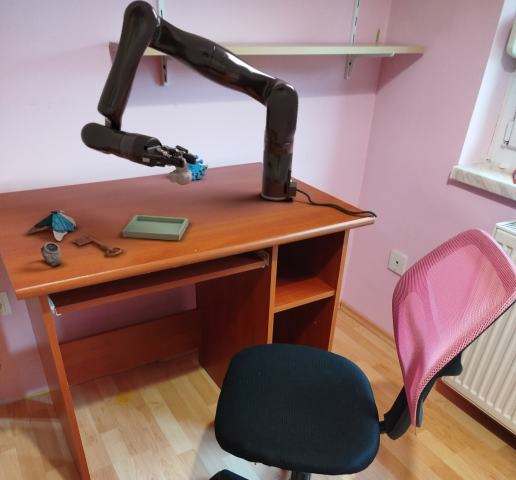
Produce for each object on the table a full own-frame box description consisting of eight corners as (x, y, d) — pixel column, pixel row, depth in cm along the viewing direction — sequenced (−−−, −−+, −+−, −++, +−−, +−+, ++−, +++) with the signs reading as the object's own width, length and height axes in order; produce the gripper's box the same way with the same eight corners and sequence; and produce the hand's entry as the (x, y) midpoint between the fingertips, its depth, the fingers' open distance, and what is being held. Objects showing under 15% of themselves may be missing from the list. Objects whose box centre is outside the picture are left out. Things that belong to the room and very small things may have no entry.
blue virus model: (180, 177, 165) (176, 150, 166) (176, 186, 170) (172, 160, 172) (210, 179, 169) (207, 153, 171) (206, 187, 175) (202, 162, 176)
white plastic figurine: (197, 184, 127) (195, 153, 122) (176, 191, 124) (173, 159, 118) (185, 178, 130) (183, 148, 125) (165, 184, 127) (161, 153, 122)
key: (72, 242, 123) (104, 260, 114) (71, 238, 122) (103, 257, 114) (92, 234, 126) (124, 252, 118) (91, 231, 125) (124, 248, 117)
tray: (188, 223, 135) (188, 218, 134) (179, 240, 125) (179, 234, 124) (136, 220, 136) (135, 214, 135) (122, 236, 126) (122, 230, 125)
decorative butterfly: (84, 212, 128) (56, 215, 119) (84, 237, 130) (57, 241, 121) (53, 206, 131) (24, 208, 122) (54, 230, 133) (25, 234, 124)
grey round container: (53, 269, 110) (48, 248, 107) (39, 260, 113) (34, 240, 110) (67, 264, 112) (63, 244, 109) (53, 256, 115) (48, 236, 112)
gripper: (119, 138, 123) (169, 151, 115) (159, 130, 132) (207, 141, 125) (122, 169, 127) (170, 183, 119) (160, 158, 137) (207, 171, 129)
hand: (189, 161), depth 122 cm, fingers closed on white plastic figurine, 3 cm apart
